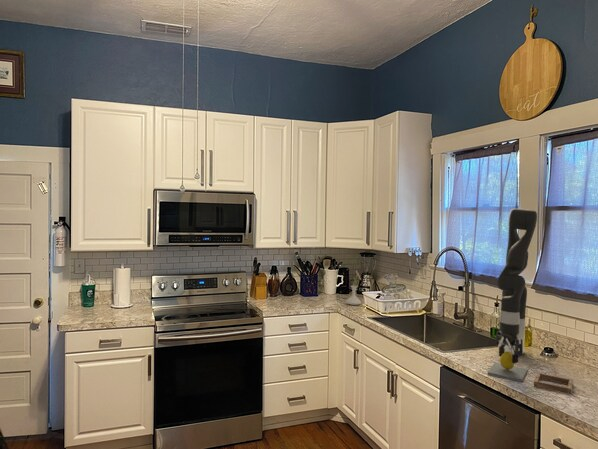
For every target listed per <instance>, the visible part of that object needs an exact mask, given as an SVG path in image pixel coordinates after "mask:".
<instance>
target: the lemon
mask: <svg viewBox="0 0 598 449" xmlns="http://www.w3.org/2000/svg"><path fill="white" fill-rule="evenodd" d="M512 354H513V353H509V352H505V353H503V354H502V355H501V357H500V360H499V363H500V364H501V366H502V367H503V368H505V369H506V370H509V369H512V368H513V367H514V366H515V365H516V363H512Z"/></svg>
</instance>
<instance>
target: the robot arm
mask: <svg viewBox="0 0 598 449" xmlns="http://www.w3.org/2000/svg"><path fill="white" fill-rule="evenodd" d="M537 221H538V213H537V211H535V210H532V209H525V208H512V209H511V210H510V212H509V215H508V240H507V249H506V255H505V265H504V267H503V268H502V270H501V272H500V274H499V276H498V277H497V282H496V283H497V287H498V289H499V290H501V291H502V293H501V296H502V297H501V301H500V303H501V304H500V306H501V307H500V312H499V313H500V315H499V330H497V331H496V332H495V345H496V346H497V347H498V356H499V357H500V358H501V355H502V354H503V353H505V352H509V353H511V354H512V363H515V364H518V362H519V355H523V354H525V340H526V339H525V335H526V332H525V331H526V314H527V312H526V311H527V310H526V309H527V308H526V306H527V301H528V300H527V297H528V289H527V287H526V280H525V278H524V277H523V275H521V274H522V273H523V272H524V270H525V269H526V268H527V266H528V260H529V251H528V250H529V247H530V244H531V241H532V240H533V239H532V238H533V235H534V234H535V233H534V232H535V230H536V226H537ZM518 230H521V231H525V232H524V234H523V235H522V237H520V236H519V233H518Z"/></svg>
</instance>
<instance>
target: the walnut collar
mask: <svg viewBox="0 0 598 449" xmlns="http://www.w3.org/2000/svg"><path fill="white" fill-rule="evenodd" d="M540 380H543V381H540ZM544 381H549V382H553V383H559V384H564V385H567V386H562V385H558V384H553V383H549V382H544ZM573 382H574V379H571V378H567V377H563V376H562V377H561V376H556V375H551V374H546V373H541V372H537V373H536V376H535V377H534V381H533V387H534V388H535V387H536V388H539V389H544V390H548V389H549V391H553V392H557V391H558V392H559V393H562V392H563V393H564V394H567V395H572V392H573Z"/></svg>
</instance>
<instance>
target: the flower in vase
mask: <svg viewBox="0 0 598 449" xmlns="http://www.w3.org/2000/svg"><path fill="white" fill-rule="evenodd" d="M355 273H356V276H355V279H354V281H353V282H352V284H353V285H350V287H351V290H352V291H351V292H352V293H351V296H350V297H349V298H347V299H346V300H345V303H346V304H347V305H349V306H359V305H361V304H362V301H361V299H360V298H358V297H357V296H356V290H357V288H358V285H355V284H357V281H356V279H358V280H359V281H361V280H362V278H361V275H360V274H359V272H358V270H355ZM357 277H358V278H357Z"/></svg>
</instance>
